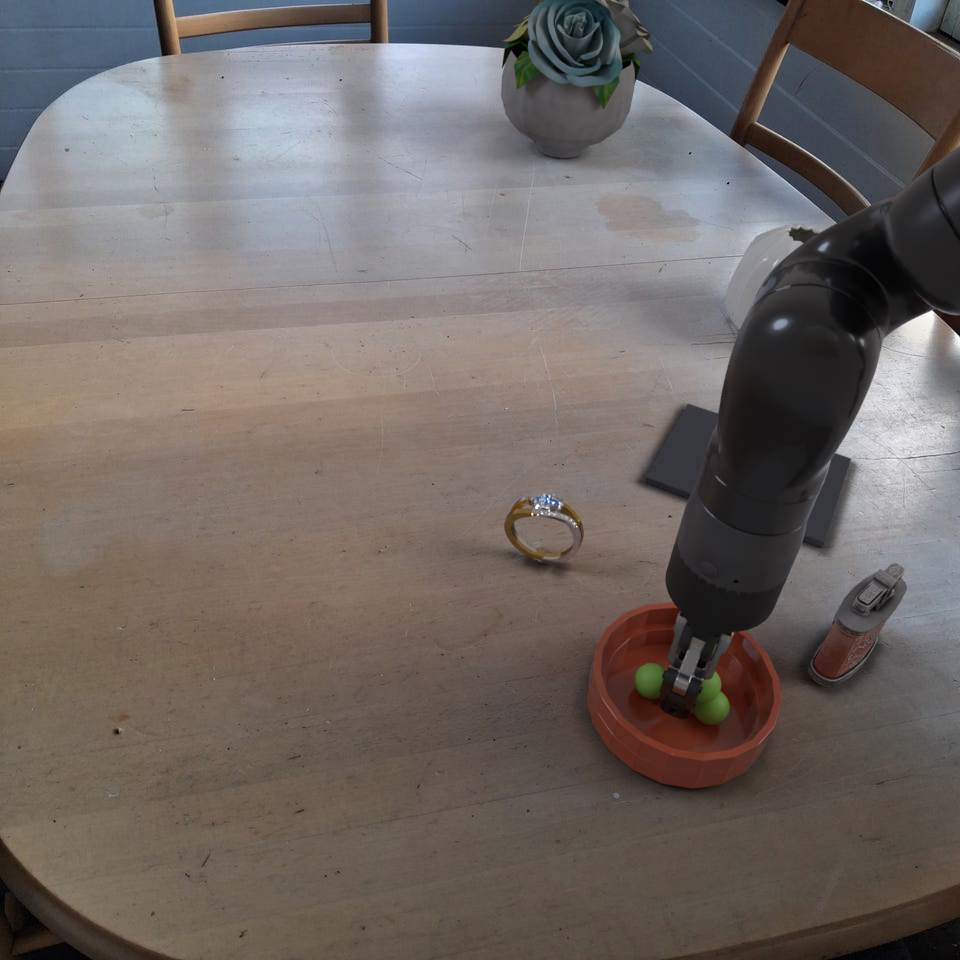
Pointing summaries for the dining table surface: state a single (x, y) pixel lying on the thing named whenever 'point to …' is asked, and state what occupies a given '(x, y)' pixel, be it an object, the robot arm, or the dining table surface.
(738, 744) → the bowl
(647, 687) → the grapes
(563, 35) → the flower arrangement
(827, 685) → the lighter
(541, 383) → the dining table surface
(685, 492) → the slate board
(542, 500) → the ring
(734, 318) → the vase
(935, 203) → the robot arm
